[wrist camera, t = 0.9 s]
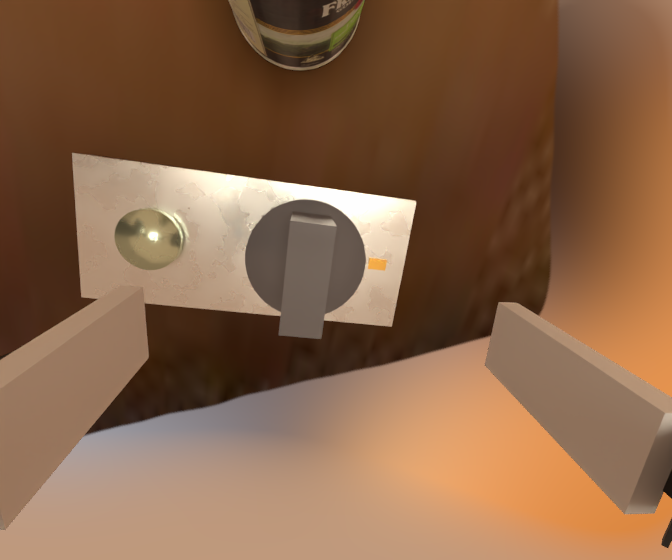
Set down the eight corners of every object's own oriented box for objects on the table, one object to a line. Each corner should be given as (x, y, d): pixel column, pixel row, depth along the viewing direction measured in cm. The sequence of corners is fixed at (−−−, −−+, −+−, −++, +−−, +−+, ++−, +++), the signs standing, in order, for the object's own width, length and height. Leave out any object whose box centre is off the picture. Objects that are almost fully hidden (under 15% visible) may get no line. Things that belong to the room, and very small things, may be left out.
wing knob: (252, 190, 29) (234, 197, 22) (370, 206, 31) (392, 218, 23) (244, 303, 32) (226, 343, 25) (353, 313, 33) (367, 355, 26)
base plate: (94, 290, 33) (72, 301, 30) (86, 154, 30) (61, 152, 26) (387, 318, 36) (394, 331, 33) (409, 199, 33) (420, 202, 30)
